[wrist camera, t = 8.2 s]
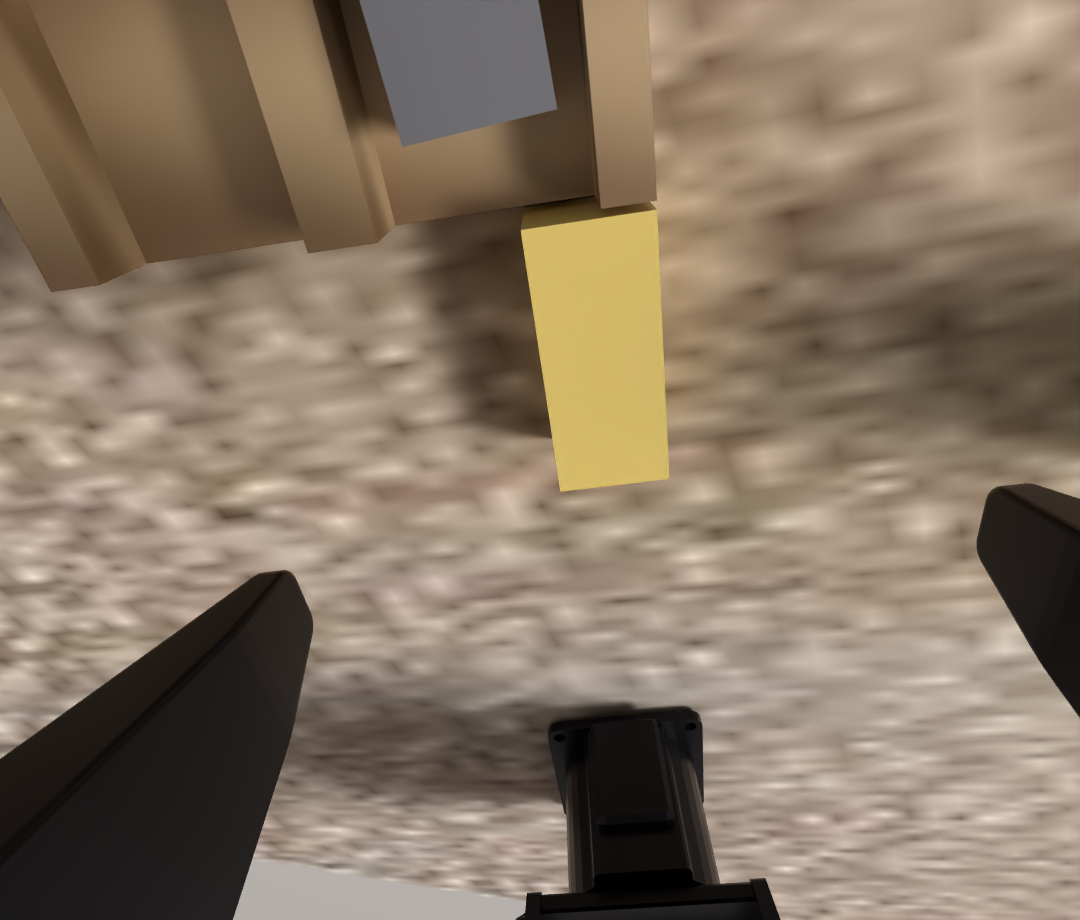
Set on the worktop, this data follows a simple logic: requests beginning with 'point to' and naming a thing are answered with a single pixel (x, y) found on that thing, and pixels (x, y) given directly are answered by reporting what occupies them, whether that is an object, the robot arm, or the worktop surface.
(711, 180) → the worktop surface
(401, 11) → the tall grey block
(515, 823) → the worktop surface
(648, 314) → the yellow rectangular block
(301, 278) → the worktop surface
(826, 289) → the worktop surface
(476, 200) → the slot board
